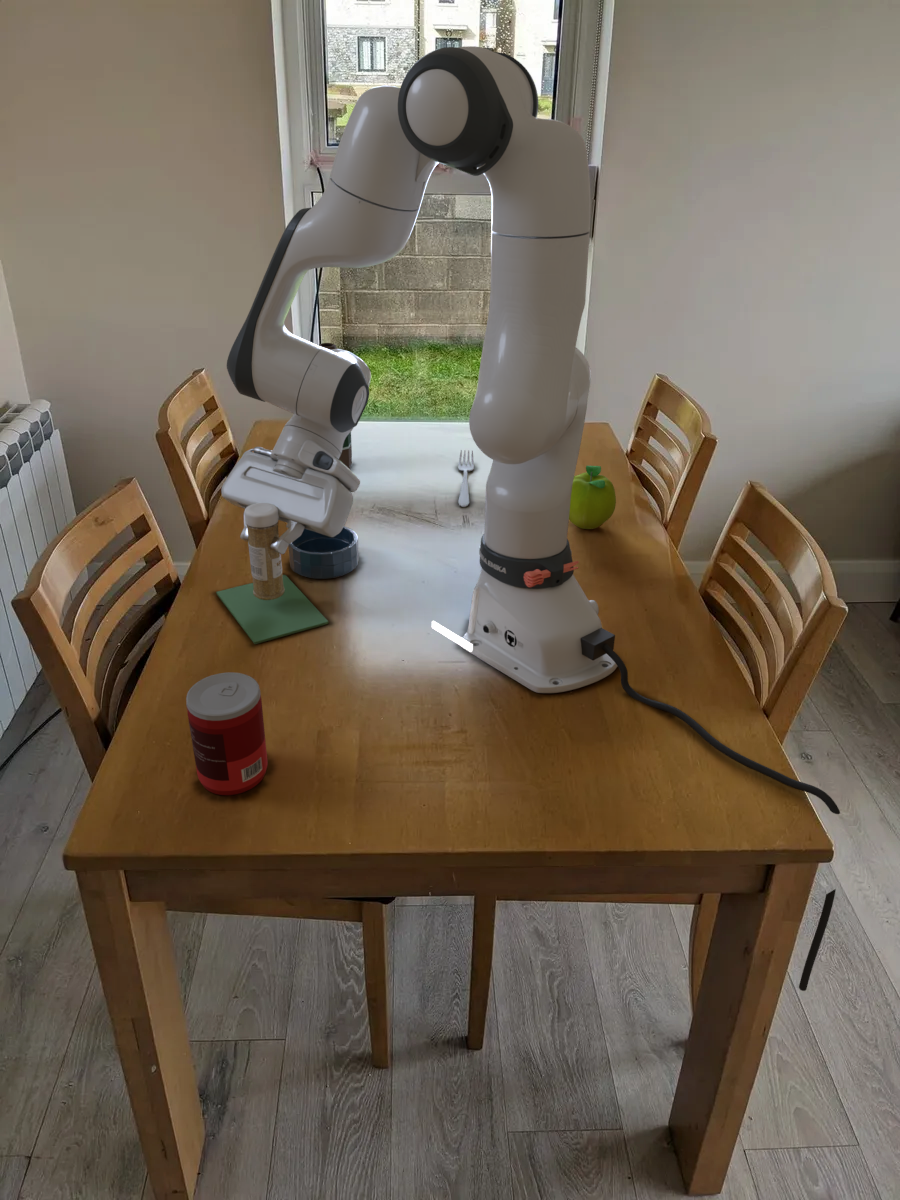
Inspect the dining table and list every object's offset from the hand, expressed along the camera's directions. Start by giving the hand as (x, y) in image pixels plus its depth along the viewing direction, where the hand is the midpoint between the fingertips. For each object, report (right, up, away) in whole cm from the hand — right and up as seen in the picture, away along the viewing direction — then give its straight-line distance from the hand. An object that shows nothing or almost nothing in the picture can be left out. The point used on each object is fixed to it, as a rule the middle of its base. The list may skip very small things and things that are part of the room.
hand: (261, 546), depth 129 cm
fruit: (+50, +5, +32) cm, 60 cm away
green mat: (0, -9, +6) cm, 10 cm away
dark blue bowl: (+6, -2, +18) cm, 19 cm away
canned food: (+2, -27, -26) cm, 37 cm away
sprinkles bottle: (0, -7, +5) cm, 8 cm away
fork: (+29, +15, +48) cm, 58 cm away
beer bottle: (+3, +19, +54) cm, 57 cm away
